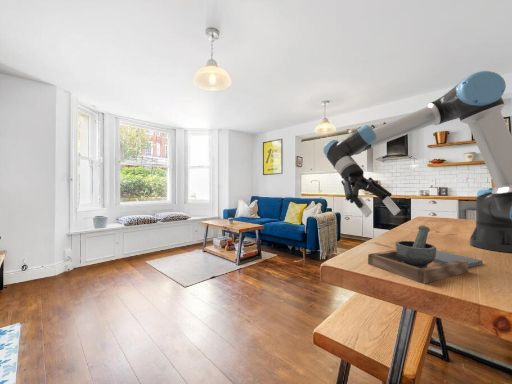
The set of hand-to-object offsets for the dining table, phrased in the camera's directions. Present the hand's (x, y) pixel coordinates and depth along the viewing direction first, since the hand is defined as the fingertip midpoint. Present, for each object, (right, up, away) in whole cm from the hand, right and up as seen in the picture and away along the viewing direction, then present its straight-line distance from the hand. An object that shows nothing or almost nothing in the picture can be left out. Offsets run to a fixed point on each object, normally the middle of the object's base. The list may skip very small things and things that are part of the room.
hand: (383, 213), depth 79 cm
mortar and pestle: (+4, -15, -9) cm, 18 cm away
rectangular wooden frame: (+4, -15, -9) cm, 18 cm away
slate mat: (+19, -15, -1) cm, 24 cm away
